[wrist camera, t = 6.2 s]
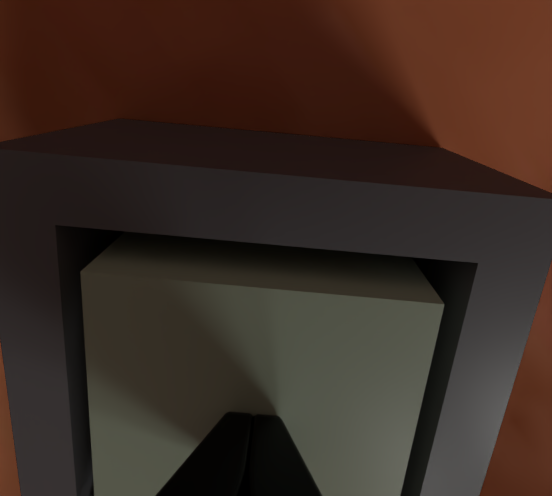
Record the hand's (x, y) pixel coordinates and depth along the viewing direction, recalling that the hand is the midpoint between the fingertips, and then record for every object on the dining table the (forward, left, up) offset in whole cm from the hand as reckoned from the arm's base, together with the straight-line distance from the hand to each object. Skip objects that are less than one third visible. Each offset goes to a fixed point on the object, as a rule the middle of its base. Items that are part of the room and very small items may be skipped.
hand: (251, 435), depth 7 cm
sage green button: (0, 0, -4) cm, 4 cm away
